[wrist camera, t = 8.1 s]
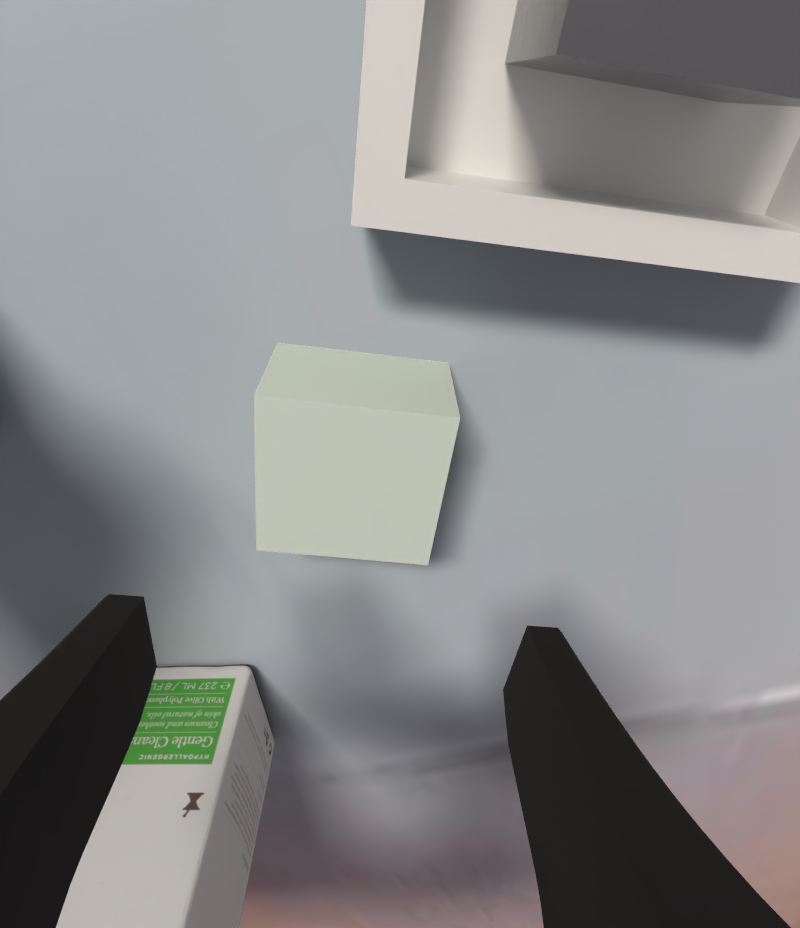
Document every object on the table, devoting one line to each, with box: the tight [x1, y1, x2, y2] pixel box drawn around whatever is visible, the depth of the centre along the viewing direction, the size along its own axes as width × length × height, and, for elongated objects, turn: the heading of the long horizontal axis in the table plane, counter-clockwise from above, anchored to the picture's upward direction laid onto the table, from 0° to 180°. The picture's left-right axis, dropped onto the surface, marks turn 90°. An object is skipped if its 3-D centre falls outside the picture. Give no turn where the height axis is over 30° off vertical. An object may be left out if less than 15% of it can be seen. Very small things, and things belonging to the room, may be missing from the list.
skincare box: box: [56, 666, 275, 928], centre depth 20 cm, size 8×7×16 cm
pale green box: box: [254, 343, 460, 565], centre depth 16 cm, size 5×5×4 cm
